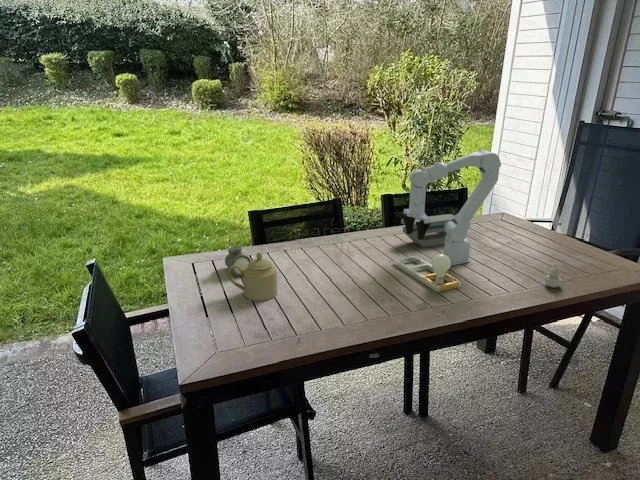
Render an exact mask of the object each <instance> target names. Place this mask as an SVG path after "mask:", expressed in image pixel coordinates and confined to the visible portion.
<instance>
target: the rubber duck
mask: <svg viewBox="0 0 640 480" xmlns="http://www.w3.org/2000/svg"><path fill="white" fill-rule="evenodd" d="M560 273H561V271H560V269H559V268H558V267H557V266H556V265H554V266H552V267H551V268H550V270H549V272H548V275H546V276H545V277H544V282H545V285H546V286H548V287H549V288H553V289H554V288H559V287H561V286H562V285H563V282H564V281H563V279H562V274H560Z"/></svg>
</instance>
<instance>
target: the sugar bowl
mask: <svg viewBox="0 0 640 480" xmlns="http://www.w3.org/2000/svg"><path fill="white" fill-rule="evenodd" d="M255 257H256V258H254V259H253V260H251V262H249V263H248V264H247V267H248V268H246V269H245V270H244V271H243V269H242V268H241V266H239V265H232V266H231V267H230V268H229V267H228V271H227V274H228V279H229V280H230V282H231V283H232V285H234V286H235V287H237V288H238V289H240V290H242V291H243V292H244V297H245V298H246V299H248V300H250V301H253V302H265V301H269V300H272V299H274V298H275V297H276V296H278V273H277V268H276V267H275V266H273V262H272V261H270V260H269V259H266V258H263V254H262V253H261V252H257V253H256V256H255ZM233 268H237V269H239V271H240V273H241V276H242V277H241V278H242V279H243V285H242V284H240V283H238V282H237V281H236V280H235V279H234V277H233V276H232V272H231V270H232V269H233Z"/></svg>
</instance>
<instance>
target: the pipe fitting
mask: <svg viewBox="0 0 640 480" xmlns="http://www.w3.org/2000/svg"><path fill="white" fill-rule="evenodd" d="M242 250H243V247H242V246H241V245H235V246H231V247H229V248H228V249H227V252H228V254H227V255H226V256H225V258H224V263H225V265H226V267H227V268H228V269H229V268H230V267H231V266H232V265H239V266H241V268H242V269H243V271H244V270H245V269H246V268H248V267H247V264H248V263H249V262H251V261H252V260H251V258H250V257H249V256H247V255H246V254H243V253H242ZM231 274H233V275H234V276H236V277H238V278H239V277H240V278H242V276H241V273H240V271H239V269H237V268H233V269H232V270H231Z"/></svg>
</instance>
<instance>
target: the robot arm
mask: <svg viewBox="0 0 640 480" xmlns="http://www.w3.org/2000/svg"><path fill="white" fill-rule="evenodd" d="M501 166H502V162H501V159H500V157H499V155H498V154H497V153H495V152H491V151H489V150H486V149H480V150H479V151H474V152H471V153H469V154H467V155H464V156H462V157H459V158H457V159H454V160H452V161H448V162H446V163H444V162H442V161H441V162H438V161H435V162H434V164H432V165H429V166H427V167H425V166H423V167H421V169H414V170H412V172H411V173H410V175H409V176H408V177H409V178H408V179H409V181H410V190H409V204H408V205H409V206H408V208H404V209H403V214H404V215H402V217H401V220H403V221H404V223H405V225H404V227H406V232H407V234H412V232H413V226H414V222H415V219H418V220H420V222H416V226H417V231H418V240H422V239H424V236H425V233H426V231H427V229H428V227H429V226H430V225H431V222H430V218H429V216H428V215H427V214H426V213H425V210H426V209H425V208H426V207H425V206H426V192H427V190H426V189H427V185H428V184H429V183H430V184H431V183H432V182H435V181H438V180H441V179H444V178H446V177H447V175H448V174H449V173H450V172H454V171H456V170H460V169H464V168H467V167H474V168H478V169H479V173H480V176H481V179H480V180H479V182H478V184H476V186H475V187H474V189H473V191H472V192H471V193H470V195H469V197H468V198H467V199H466V201H465V203H464V204H463V206H462V207H461V208H460V210H459V212H458V213H456V214H455V215H454V216H453V218H452V219H451V220H449V221H448V222H447V223H446V224H445V226H444V230H445V232H446V233H447V235H446V237H445V244H443V247H444V248H443V254H444V255H446V256H448V257H449V259H450V261H451V266H456V265H461V264H466V263H470V262H471V260H470V252H471V243H470V241H469V240H468V238H467V236H468V230H469V229H470V228H471V221H472V219H473V218H474V217H475V215H476V213H477V212H478V211H479V209H480V207H481V206H482V204H484V201H485V200H486V199H487V197H488V196H489V194H490V193H491V192H492V190H493V189H494V187H495V185H497V182H498V181H499V175H500V168H501Z"/></svg>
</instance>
